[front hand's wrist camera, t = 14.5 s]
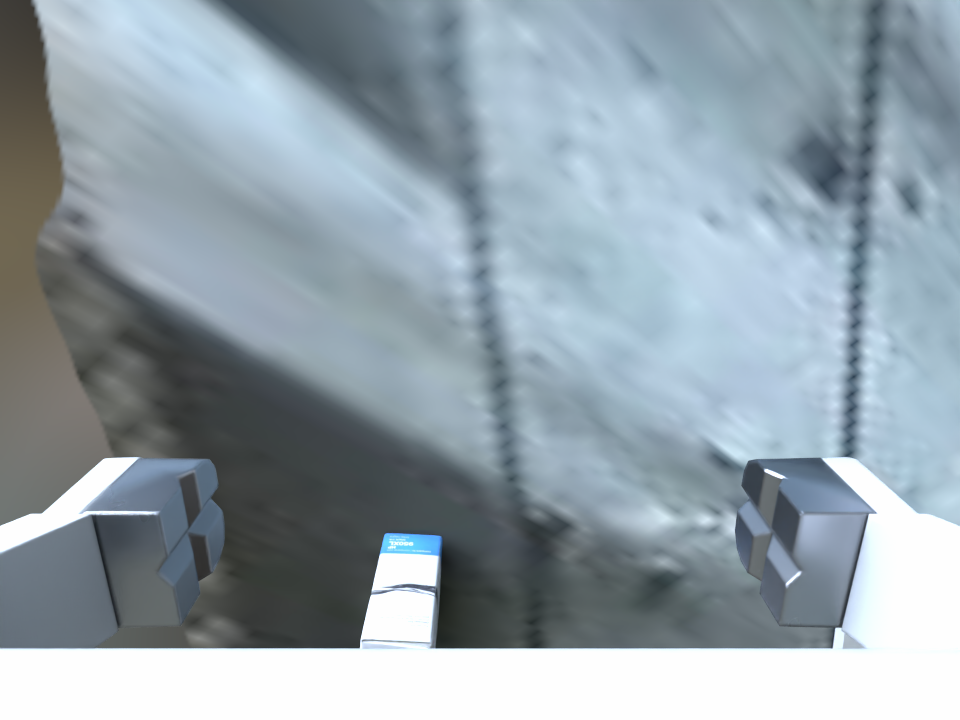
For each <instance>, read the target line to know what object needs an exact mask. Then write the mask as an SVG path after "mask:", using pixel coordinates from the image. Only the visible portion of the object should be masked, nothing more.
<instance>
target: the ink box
mask: <svg viewBox="0 0 960 720" xmlns="http://www.w3.org/2000/svg"><path fill="white" fill-rule="evenodd" d="M441 558H442V537H441V536H434V535H414V534H385V536H384V540H383V544H382V548H381V553H380V557H379V562H378V567H377V571H376V575H375V580H374V584H373V589H372V593H371V597H370V602H369V606H368V610H367V615H366V619H365V623H364V628H363V632H362V637H361V649H435V647H436V637H437V626H438V614H439V599H440V580H441Z"/></svg>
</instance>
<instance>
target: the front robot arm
mask: <svg viewBox="0 0 960 720" xmlns="http://www.w3.org/2000/svg"><path fill="white" fill-rule="evenodd" d="M218 486H219V485H218V480H217V475H216V470H215V466H214V465H213V464H212V462H211V461H210V460H209V459H170V458H141V457H132V458H109V459H103V460H102V461H101V462H100V463H99V464H98V465H97V466H96V467H94V468H93V469H92V470H91V471H90V472H89V473H88V474H87V475H85V476H84V477H83V478H82V479H81V480H80V481H79V482H77V483H76V484H75V485H74V486H73V487H72V488H71V489H70V490H68V491H67V492H66V493H65V494H64V495H63V496H62V497H61V498H59V499H58V500H57V501H56V502H55V503H54V504H53V505H52V506H50V507H49V508H48V509H47V510H46V511H45V512H44V513H43V514H30V515H27V516H25V517H22V518H20V519H17V520H15V521H12V522H10V523H7V524H5V525H2V526H0V720H960V526H958V525H955V524H953V523H950V522H948V521H945V520H943V519H940V518H938V517H935V516H933V515H930V514H917V513H916V512H915V511H914V510H913V509H912V508H911V507H910V506H908V505H907V504H906V503H905V502H904V501H903V500H902V499H901V498H900V497H898V496H897V495H896V494H895V493H894V492H893V491H892V490H891V489H889V488H888V487H887V486H886V485H885V484H884V483H883V482H882V481H880V480H879V479H878V478H877V477H876V476H875V475H874V474H873V473H871V472H870V471H869V470H868V469H867V468H866V467H865V466H864V465H862V464H861V463H860V462H859V461H858V460H856V459H853V458H849V457H840V458H791V459H756V460H750V461H748V463H747V465H746V467H745V470H744V474H743V479H742V485H741V486H742V487H743V489H744V490H745V492H746V493H747V495H748V497H749V499H748V501H747V502H746V503H745V504H744V505H743V506H742V507H741V508H740V509H739V510H738V511H737V519H736V527H735V534H736V544H737V550H738V553H739V556H740V559H741V562H742V564H743V565H744V567H745V569H746V571H747V573H749V574H750V575H752V576H754V577H755V578H757V579H759V580H760V581H762V583H761V589H760V595H761V596H762V598H763V600H764V601H765V603H766V605H767V606H768V608H769V610H770V611H771V613H772V615H773V616H774V618H775V620H776V621H777V623H778V625H779V626H790V627H826V628H842V629H841V631H842V632H844V633H845V634H847V635H848V636H849V637H851V638H852V639H853V640H855V641H856V642H857V643H859V644H860V645H861V646H863V647H864V648H866V649H149V648H148V649H147V648H143V649H142V648H140V649H137V648H136V649H135V648H129V649H127V648H126V649H124V648H120V649H119V648H117V649H113V648H110V649H107V648H106V649H105V648H102V649H100V648H98V649H96V647H97V646H99V645H100V644H101V643H103V642H104V641H106V640H107V639H108V638H110V637H111V636H112V635H114V634H115V633H116V632H118V628H133V627H168V626H181V625H182V623H183V621H184V620H185V618H186V616H187V615H188V613H189V611H190V610H191V608H192V606H193V605H194V603H195V601H196V600H197V598H198V596H199V595H200V589H199V583H198V581H200V580H201V579H203V578H205V577H206V576H208V575H210V574H211V573H213V571H214V569H215V567H216V565H217V564H218V562H219V560H220V557H221V552H222V548H223V544H224V530H225V525H224V518H223V511H222V510H221V509H220V508H219V507H218V506H217V505H216V504H215V503H214V502H213V501H212V499H211V497H212V495H213V493H214V492H215V490H216V489H217V487H218Z"/></svg>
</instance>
